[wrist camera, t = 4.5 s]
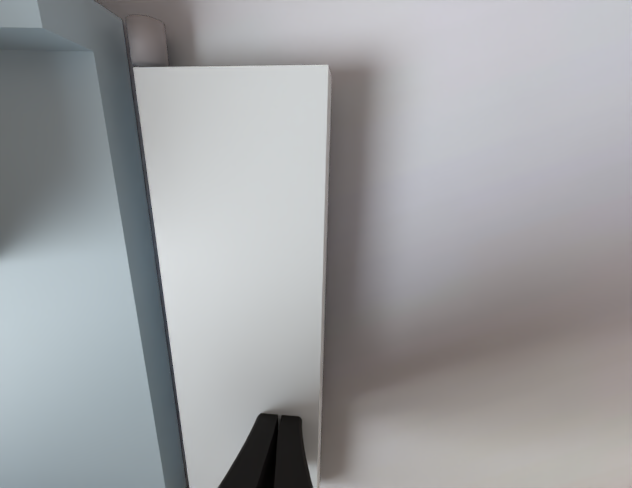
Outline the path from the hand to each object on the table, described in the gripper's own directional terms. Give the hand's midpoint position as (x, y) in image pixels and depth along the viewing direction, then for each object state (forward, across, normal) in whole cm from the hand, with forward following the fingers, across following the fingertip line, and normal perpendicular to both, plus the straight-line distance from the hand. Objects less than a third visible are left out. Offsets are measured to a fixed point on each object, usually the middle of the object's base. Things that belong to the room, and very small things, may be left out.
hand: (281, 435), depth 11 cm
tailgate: (+1, +4, -4) cm, 5 cm away
